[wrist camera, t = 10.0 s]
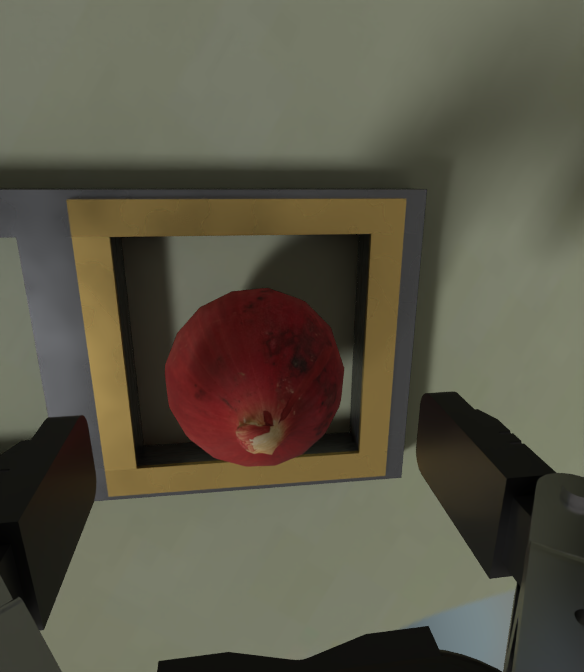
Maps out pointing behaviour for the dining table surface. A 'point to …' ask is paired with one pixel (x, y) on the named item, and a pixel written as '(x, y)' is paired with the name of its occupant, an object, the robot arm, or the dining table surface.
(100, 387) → the grey yellow flat frame
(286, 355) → the onion
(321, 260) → the dining table surface
